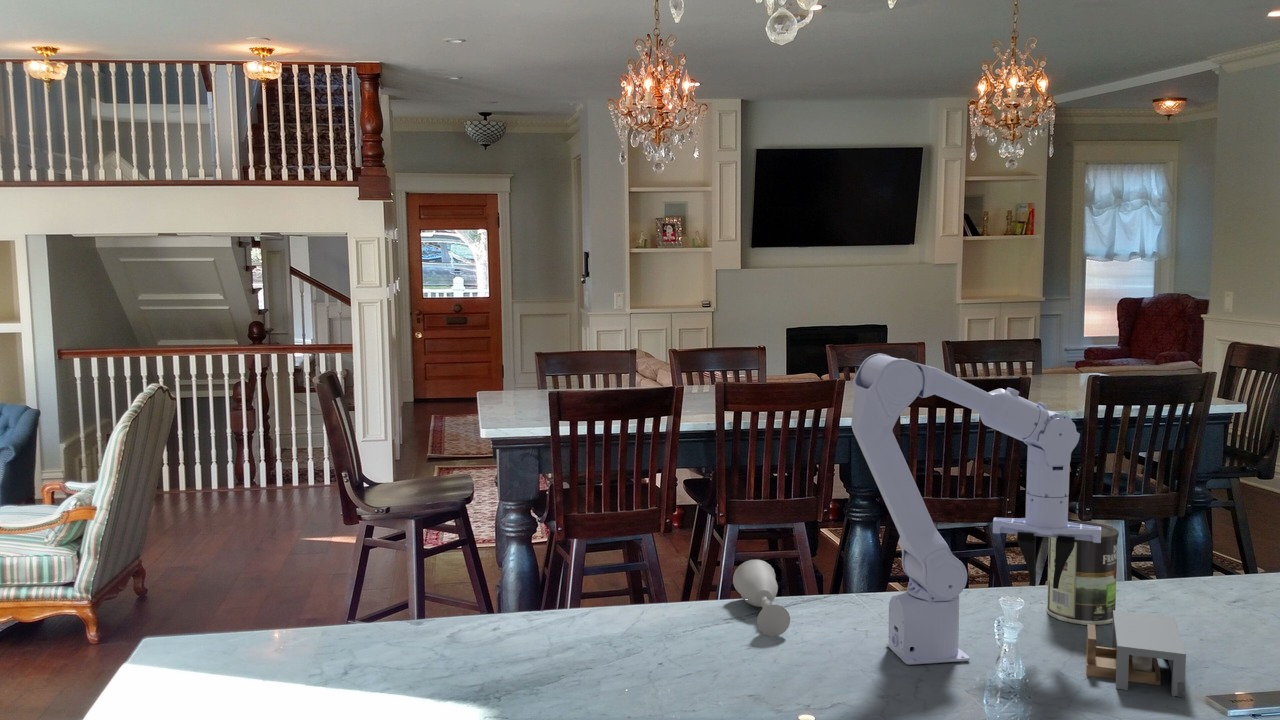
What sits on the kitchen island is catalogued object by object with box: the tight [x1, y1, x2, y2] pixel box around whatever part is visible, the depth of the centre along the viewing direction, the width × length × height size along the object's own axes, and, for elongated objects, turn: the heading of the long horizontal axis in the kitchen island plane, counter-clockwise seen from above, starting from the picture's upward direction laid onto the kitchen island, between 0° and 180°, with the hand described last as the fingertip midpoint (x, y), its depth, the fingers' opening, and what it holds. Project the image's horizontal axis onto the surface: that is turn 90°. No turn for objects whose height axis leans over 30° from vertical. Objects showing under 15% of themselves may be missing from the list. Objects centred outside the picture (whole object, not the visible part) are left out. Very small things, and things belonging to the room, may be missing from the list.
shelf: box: [1111, 609, 1187, 698], centre depth 140 cm, size 8×15×6 cm, turn 157°
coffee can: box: [1046, 520, 1120, 626], centre depth 163 cm, size 10×10×14 cm
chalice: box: [732, 559, 791, 637], centre depth 164 cm, size 7×7×18 cm
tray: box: [1085, 624, 1162, 686], centre depth 142 cm, size 9×8×5 cm
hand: (1044, 585), depth 149 cm, fingers open, 2 cm apart
